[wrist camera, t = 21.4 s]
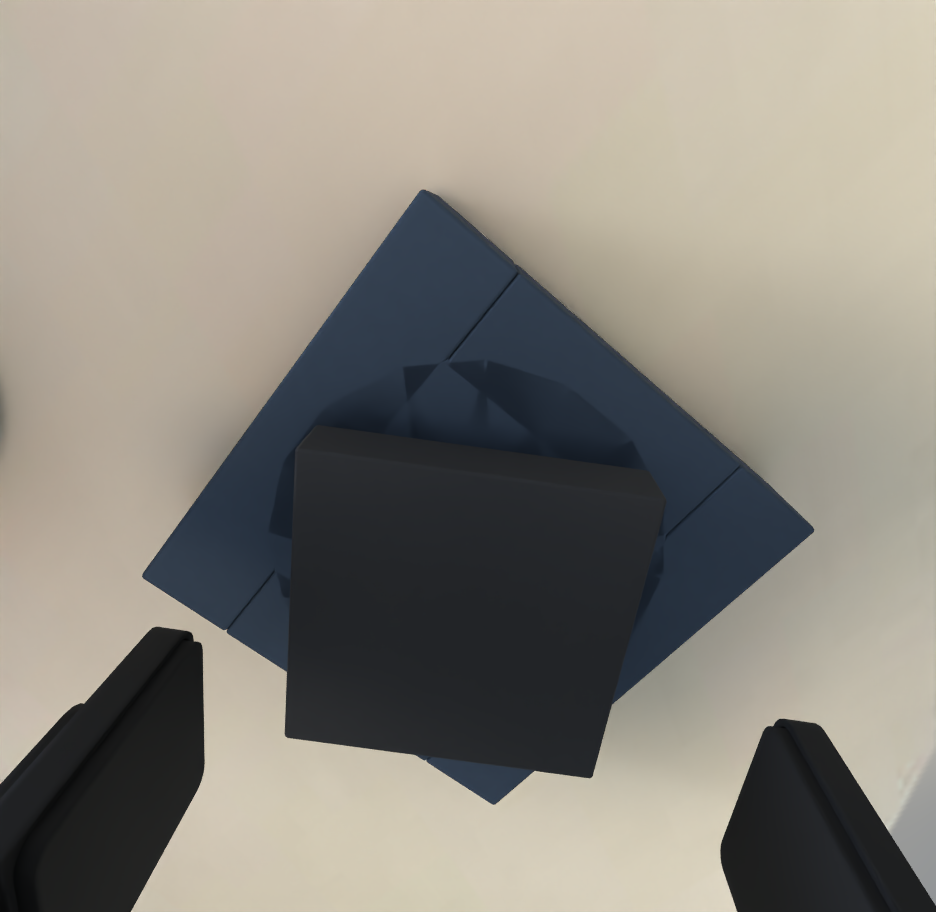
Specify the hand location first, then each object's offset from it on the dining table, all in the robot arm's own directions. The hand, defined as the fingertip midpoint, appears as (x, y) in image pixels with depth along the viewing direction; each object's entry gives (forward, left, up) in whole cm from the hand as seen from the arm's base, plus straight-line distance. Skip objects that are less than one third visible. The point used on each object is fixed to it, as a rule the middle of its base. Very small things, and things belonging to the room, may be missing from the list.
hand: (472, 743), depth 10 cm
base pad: (0, 0, -9) cm, 9 cm away
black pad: (0, 0, -9) cm, 9 cm away
